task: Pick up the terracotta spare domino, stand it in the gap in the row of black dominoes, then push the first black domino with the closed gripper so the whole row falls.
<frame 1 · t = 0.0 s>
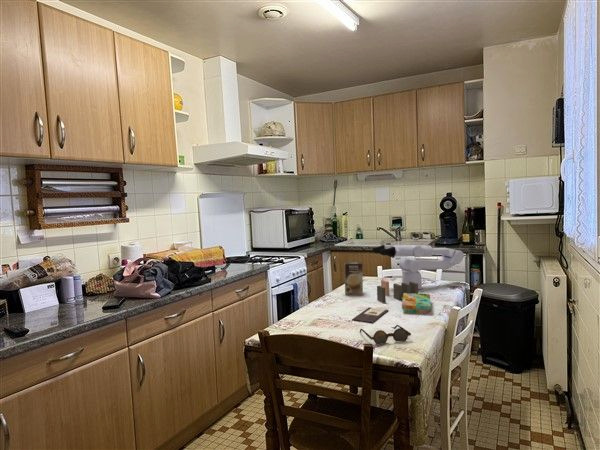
hand: (376, 251, 199), 22 cm above the table, tool horizontal, fingers open, 7 cm apart
chocolate bar: (370, 317, 165), on the table
domino 5: (381, 301, 186), on the table
domino 2: (405, 297, 190), on the table
eyeglasses: (383, 337, 142), on the table
coffee box: (354, 293, 202), on the table
spare domino: (385, 294, 198), on the table
domino 3: (397, 298, 188), on the table
domino 1: (413, 296, 191), on the table
puzzle game: (416, 308, 174), on the table
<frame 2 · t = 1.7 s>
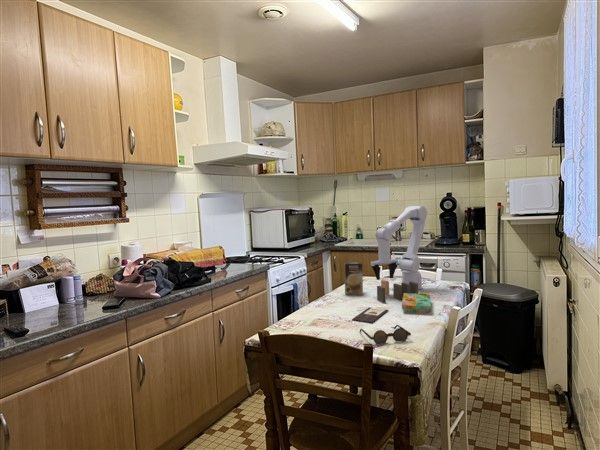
hand: (384, 278, 197), 8 cm above the table, tool pointing down, fingers open, 7 cm apart
nothing on the table moved.
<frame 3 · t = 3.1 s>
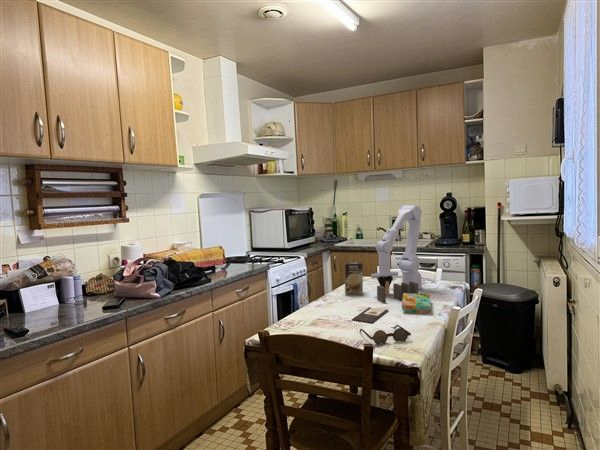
hand: (385, 291, 197), 2 cm above the table, tool pointing down, fingers closed on spare domino, 2 cm apart
spare domino: (385, 294, 198), on the table, touching gripper
everything else where it was.
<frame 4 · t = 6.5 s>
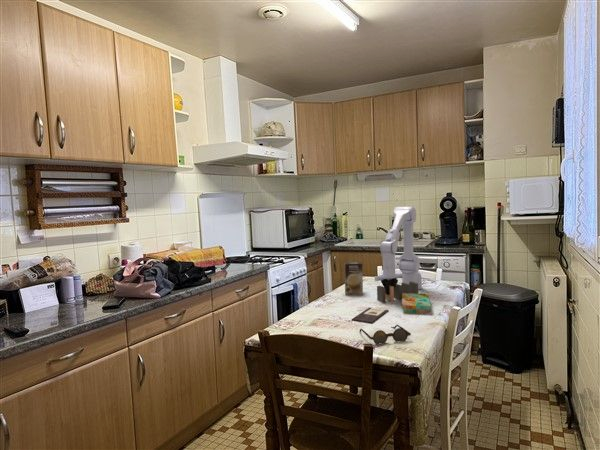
hand: (389, 294, 187), 3 cm above the table, tool pointing down, fingers closed on spare domino, 2 cm apart
spare domino: (389, 300, 187), on the table, touching gripper
everything else where it was.
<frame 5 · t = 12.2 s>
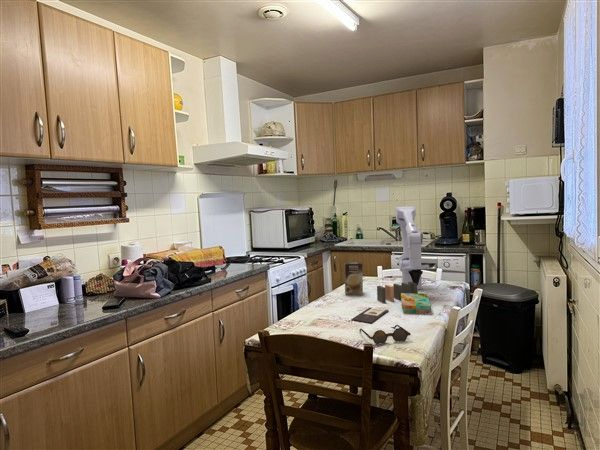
hand: (415, 285, 191), 6 cm above the table, tool pointing down, fingers closed
spare domino: (389, 300, 187), on the table
domino 1: (413, 296, 191), on the table, tilted 7°
everything else where it was.
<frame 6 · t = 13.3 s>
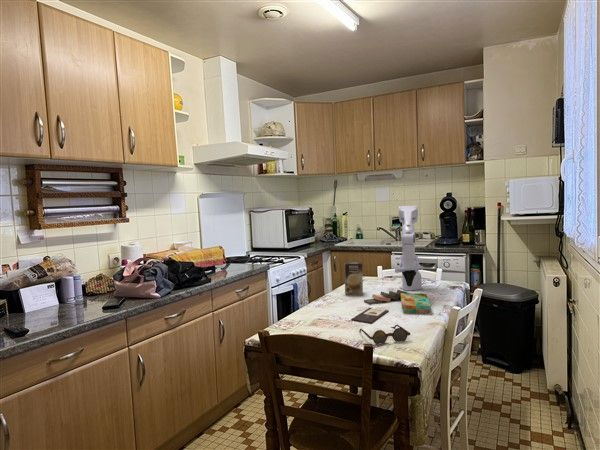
hand: (409, 285, 190), 6 cm above the table, tool pointing down, fingers closed
domino 5: (379, 300, 185), on the table, tilted 90°, touching spare domino
domino 2: (403, 296, 189), point 1 cm above the table, tilted 69°, touching domino 1, domino 3
spare domino: (387, 298, 187), point 1 cm above the table, tilted 75°, touching domino 3, domino 5
domino 3: (395, 297, 188), point 1 cm above the table, tilted 69°, touching domino 2, spare domino
domino 1: (411, 295, 191), point 1 cm above the table, tilted 69°, touching domino 2
everything else where it was.
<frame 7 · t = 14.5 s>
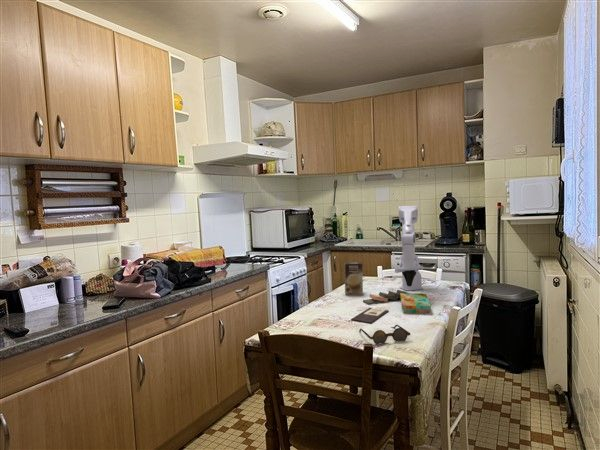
hand: (409, 285, 190), 6 cm above the table, tool pointing down, fingers closed
domino 2: (403, 296, 189), point 1 cm above the table, tilted 70°, touching domino 1
spare domino: (385, 299, 186), point 1 cm above the table, tilted 74°, touching domino 3, domino 5
domino 3: (394, 297, 188), point 1 cm above the table, tilted 71°, touching spare domino
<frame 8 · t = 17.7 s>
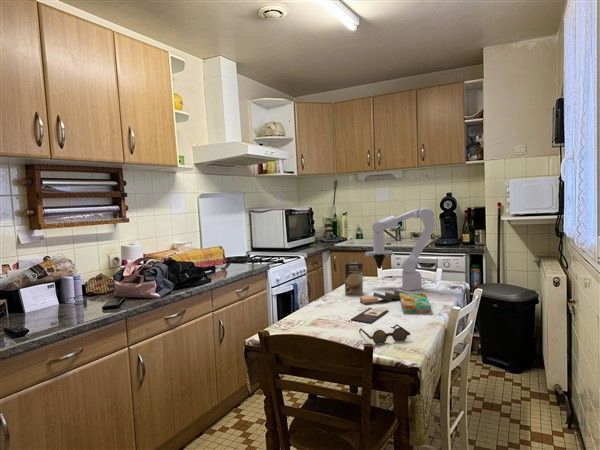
hand: (379, 268, 211), 10 cm above the table, tool pointing down, fingers closed
domino 5: (375, 301, 185), on the table, tilted 90°, touching spare domino
domino 2: (400, 297, 189), point 1 cm above the table, tilted 75°, touching domino 1, domino 3
spare domino: (375, 298, 184), point 2 cm above the table, tilted 90°, touching domino 5
domino 3: (387, 298, 187), point 1 cm above the table, tilted 68°, touching domino 2
domino 1: (409, 295, 191), point 1 cm above the table, tilted 72°, touching domino 2
at the end: domino 5 tilted 90°; spare domino tilted 90°; spare domino inside the target area (3.0 cm from its centre), point 1.7 cm above the table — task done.
